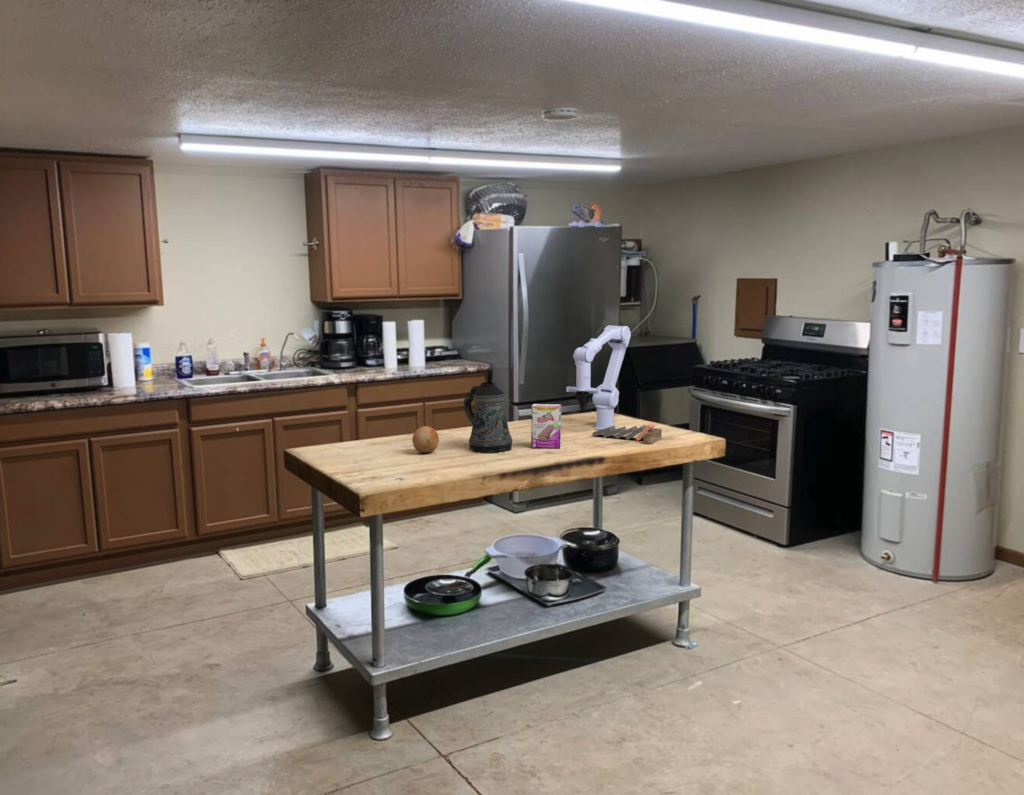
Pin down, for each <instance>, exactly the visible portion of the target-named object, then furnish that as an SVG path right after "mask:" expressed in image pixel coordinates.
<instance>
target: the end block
mask: <svg viewBox="0 0 1024 795" xmlns="http://www.w3.org/2000/svg"><path fill="white" fill-rule="evenodd" d="M662 431H663V430H662V428H658V427H657V428H655V427H654V428H653V429H652V430H650V431H648V432H646V433H644V438H643V444H644V443H645V444H644V445H649V444H651V445H653V444H655V443H656V441H657V440H658V441H660V440H662ZM659 439H660V440H659ZM658 441H657V442H658ZM654 442H655V443H654ZM652 443H653V444H652Z"/></svg>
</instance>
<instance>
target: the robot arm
mask: <svg viewBox="0 0 1024 795" xmlns="http://www.w3.org/2000/svg"><path fill="white" fill-rule="evenodd" d="M631 337H632V334H631V330H630V327H629V326H627V325H610V324H608V325H607V326H605V327H604V329H603V332H602V333H601V334H599V336H598V337H597V338H590V339H589V341H588V342H586V343H585V344H584V345H583V346H581V347H579V346H578V347H577V348H576V349H575V350H574V353H573V354H572V355H573V361H574V365H575V366H576V377H575V378H576V382H575V383H576V384H575V385H576V386H569V385H568V386H566V390H565V391H566V393H568V392H569V393H570V392H571V393H575V397H576V400H577V402H578V404H579V408H580V411H586V410H587V406H588V402H589V400H590V398H591V396H592V403H593V405H595V406H594V407H595V408H596V424H595V428H594V429H595V430H601V429H604V428H608V427H611V426H615V427H616V424H614V423H615V408H616V407H617V405H618V403H619V395H620V391H619V390H618V388H617V387H616V385H617V381H618V378H619V375H620V371H621V368H622V364H623V361H624V358H625V354H626V350H627V348H628V346H629V343H630V340H631ZM607 343H608V345H609V347H611V348H612V351H611V355H610V357H609V358H610V359H609V361H608V366H607V368H606V371H605V376H604V379H603V382H602V383H601V384H600V385H598V386H597V387H591V381H592V380H591V375H592V374H591V372H592V370H591V364H592V362H593V360H594V358H595V356H596V354H598V353H599V352H600V351H601V350H602V348H603V345H605V344H607Z"/></svg>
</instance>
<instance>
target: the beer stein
mask: <svg viewBox="0 0 1024 795" xmlns="http://www.w3.org/2000/svg"><path fill="white" fill-rule="evenodd" d="M506 396H507V395H506V393H505V392H504V391H503V390H502V389H500V388H498V386H497V385H496V384H495V382H493V381H492V382H491V381H489V382H487V381H485V382H481V384H480V385H474V386H472V388H471V389H470V392H469V393H467V394H466V395H465V398H464V399H463V400H464V401H463V410H464V412H465V415H466V418H467V419H468V420H469V422H470V423H471V424H472V425H471V426H472V427H471V432H470V436H469V438H468V444H469V450H470V451H471V450H472V451H471V452H473V451H474V453H477V452H480V454H500V453H499V452H502V453H506V452H505V451H507V452H509V451H511V450H512V446H513V438H512V435H511V433H510V432H511V431H510V429H509V424H508V420H507V412H506V407H505V401H506V399H507V397H506ZM473 401H474V411H473V408H472V402H473Z"/></svg>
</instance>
